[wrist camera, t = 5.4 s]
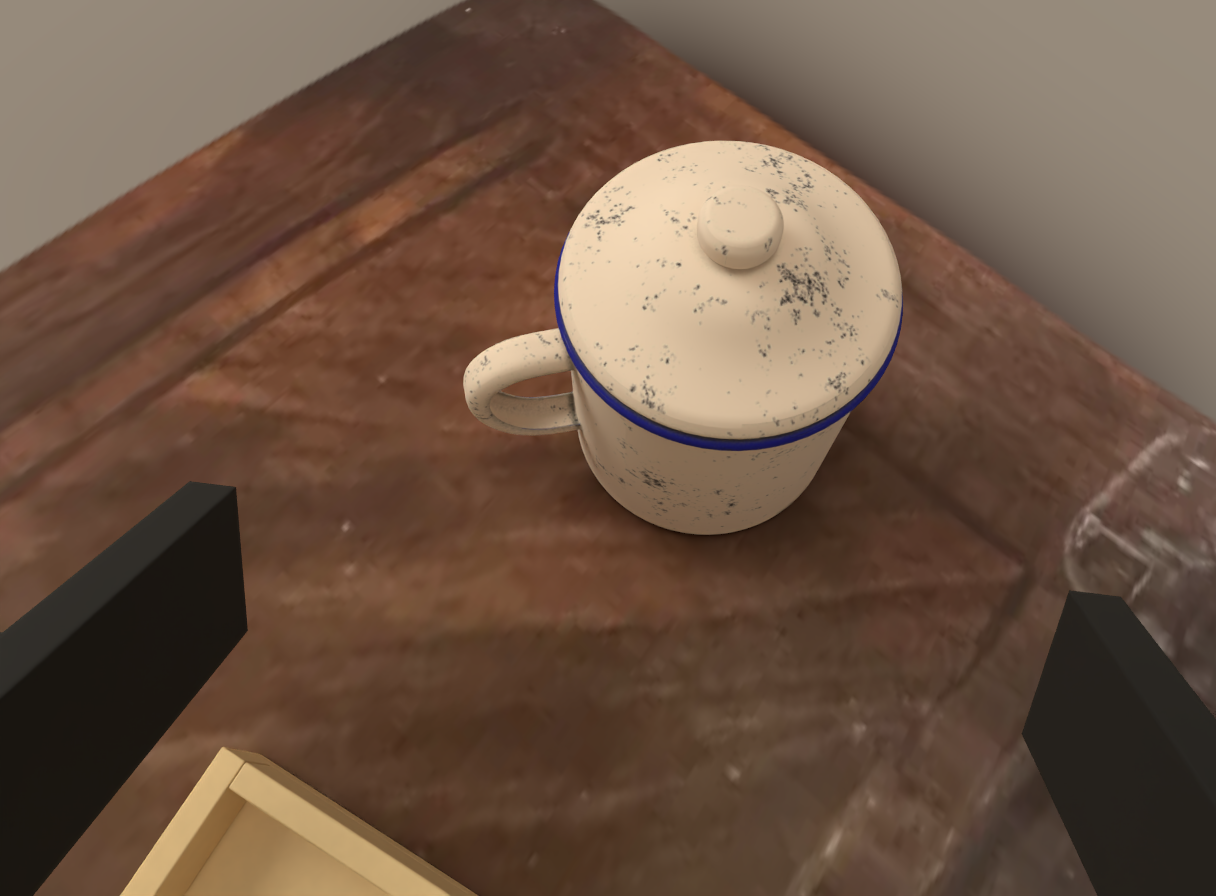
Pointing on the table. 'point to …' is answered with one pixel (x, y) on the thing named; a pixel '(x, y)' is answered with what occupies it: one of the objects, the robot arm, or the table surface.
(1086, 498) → the table surface
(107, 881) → the table surface
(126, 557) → the robot arm
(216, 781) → the wooden tray
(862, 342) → the teacup with lid
